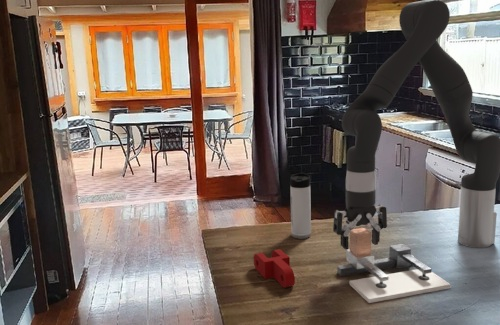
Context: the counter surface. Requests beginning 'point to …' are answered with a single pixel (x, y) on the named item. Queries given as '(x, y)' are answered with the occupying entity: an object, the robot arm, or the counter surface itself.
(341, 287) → the counter surface
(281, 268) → the mechanical linkage
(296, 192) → the travel mug
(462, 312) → the counter surface
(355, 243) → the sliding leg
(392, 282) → the bolt plate
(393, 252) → the gray bar frame
